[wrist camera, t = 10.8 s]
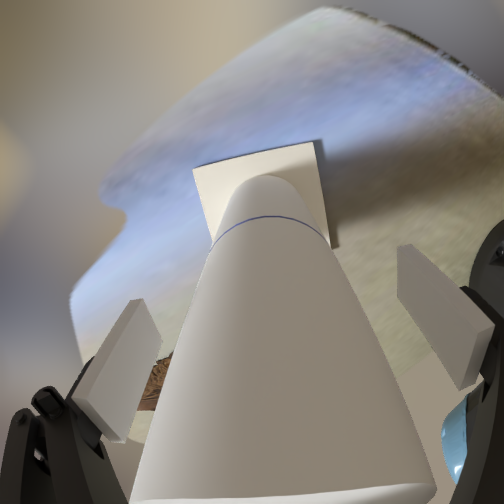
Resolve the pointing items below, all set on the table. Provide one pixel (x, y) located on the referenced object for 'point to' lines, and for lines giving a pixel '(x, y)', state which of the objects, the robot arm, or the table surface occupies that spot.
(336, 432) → the cylindrical container
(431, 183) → the table surface
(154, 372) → the brown relief tablet
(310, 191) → the ceramic tile
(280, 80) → the table surface
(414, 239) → the table surface
